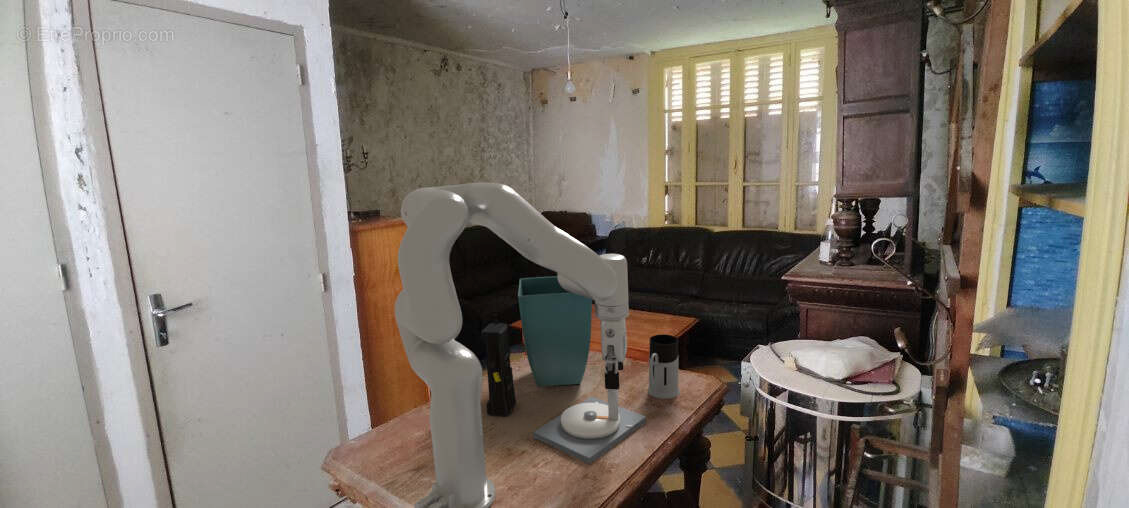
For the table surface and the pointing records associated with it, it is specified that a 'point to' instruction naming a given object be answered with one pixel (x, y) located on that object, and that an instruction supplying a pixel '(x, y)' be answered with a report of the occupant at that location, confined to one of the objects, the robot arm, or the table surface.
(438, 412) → the robot arm
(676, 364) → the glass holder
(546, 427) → the stand
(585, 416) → the white round dome
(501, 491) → the table surface
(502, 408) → the portable radio
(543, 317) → the flower pot
